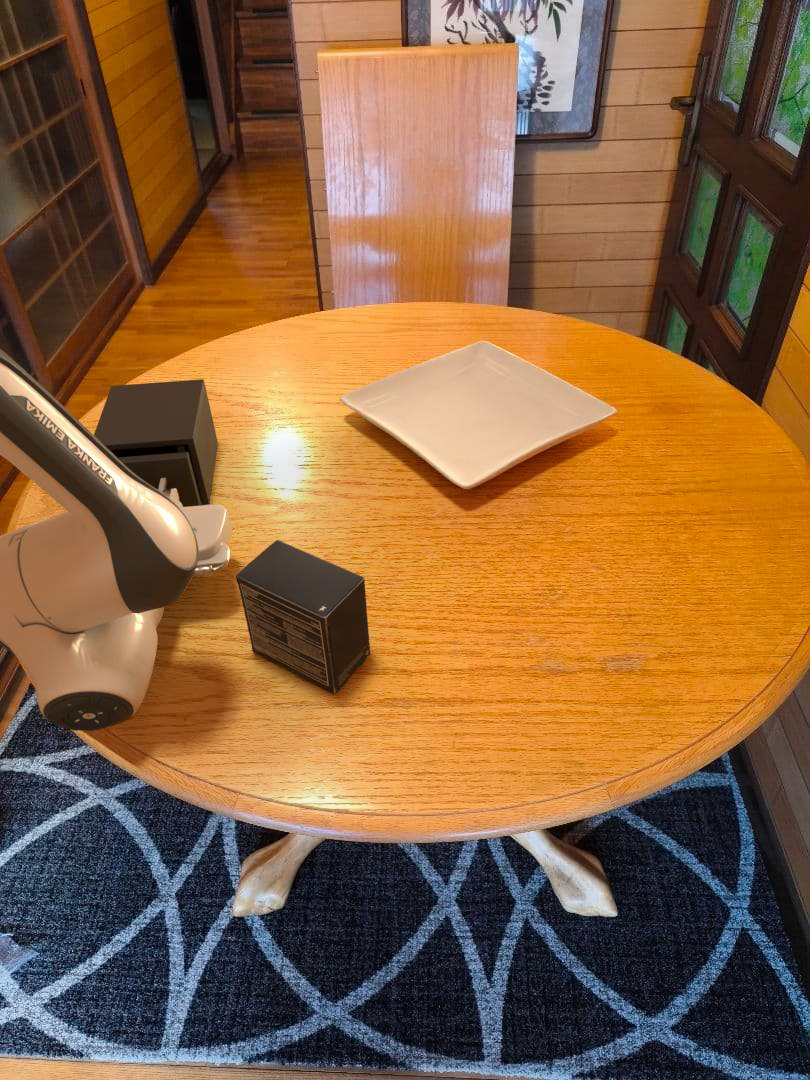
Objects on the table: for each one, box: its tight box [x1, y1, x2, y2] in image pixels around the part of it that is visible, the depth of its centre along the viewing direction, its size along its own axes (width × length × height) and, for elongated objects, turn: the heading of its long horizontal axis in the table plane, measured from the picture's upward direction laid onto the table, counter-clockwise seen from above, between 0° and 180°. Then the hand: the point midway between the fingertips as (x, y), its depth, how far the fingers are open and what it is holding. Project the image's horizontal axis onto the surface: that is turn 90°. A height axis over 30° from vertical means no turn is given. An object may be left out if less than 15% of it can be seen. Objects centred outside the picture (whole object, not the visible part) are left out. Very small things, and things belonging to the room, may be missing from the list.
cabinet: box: [93, 378, 218, 505], centre depth 95 cm, size 14×12×10 cm
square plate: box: [339, 340, 618, 490], centre depth 104 cm, size 27×27×4 cm
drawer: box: [110, 444, 203, 507], centre depth 91 cm, size 17×10×8 cm, turn 6°
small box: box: [235, 539, 371, 695], centre depth 72 cm, size 11×6×10 cm, turn 58°
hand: (141, 495), depth 85 cm, fingers closed on drawer, 5 cm apart
